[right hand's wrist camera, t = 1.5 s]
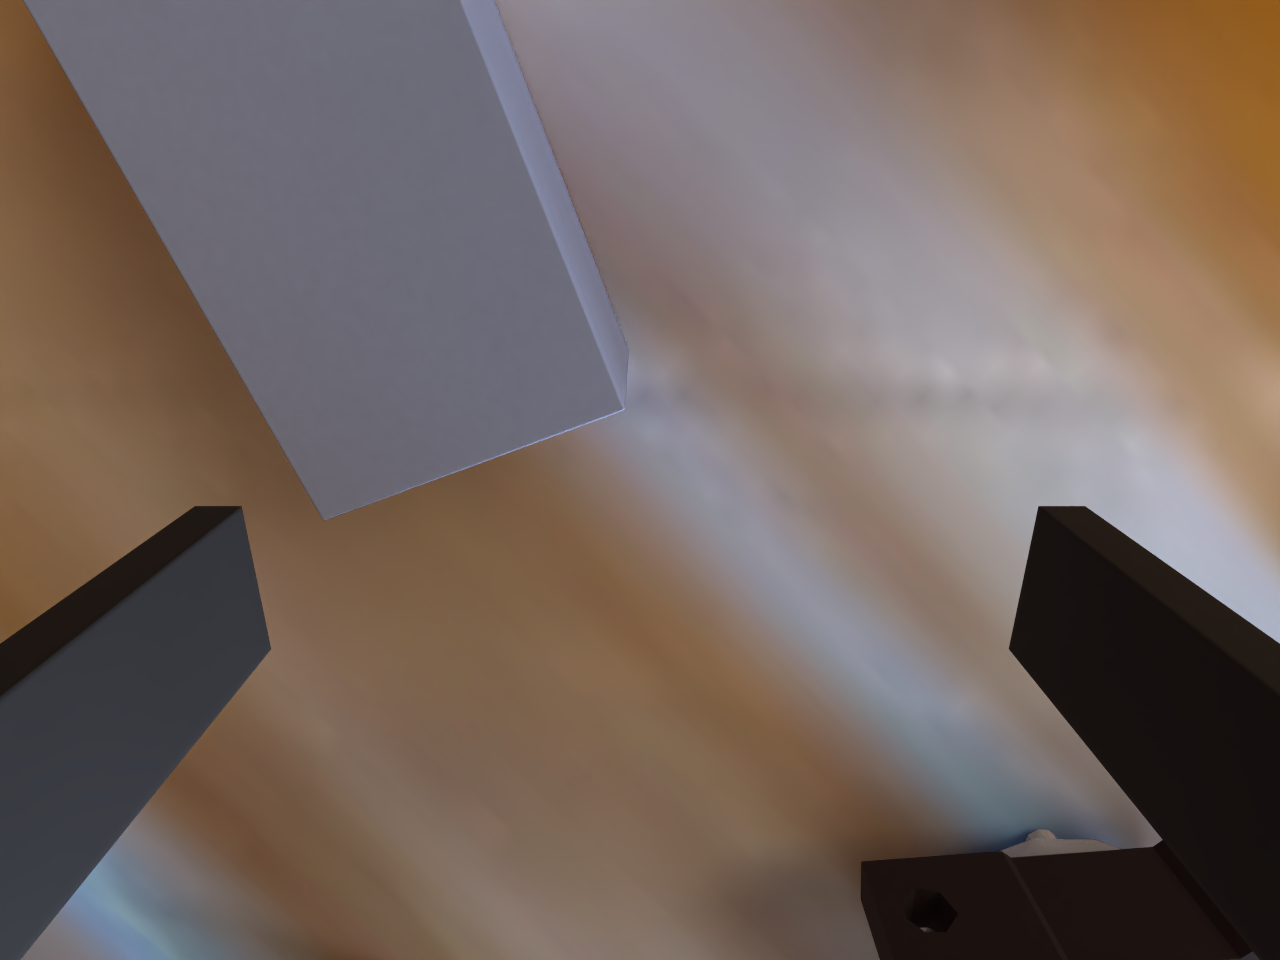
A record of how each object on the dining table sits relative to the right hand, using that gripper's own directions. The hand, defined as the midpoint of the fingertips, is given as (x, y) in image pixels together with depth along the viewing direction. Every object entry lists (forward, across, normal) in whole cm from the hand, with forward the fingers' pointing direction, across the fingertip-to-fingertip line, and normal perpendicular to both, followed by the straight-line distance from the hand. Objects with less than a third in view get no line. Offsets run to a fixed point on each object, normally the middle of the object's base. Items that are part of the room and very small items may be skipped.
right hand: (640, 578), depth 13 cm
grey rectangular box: (+21, +9, -7) cm, 24 cm away
